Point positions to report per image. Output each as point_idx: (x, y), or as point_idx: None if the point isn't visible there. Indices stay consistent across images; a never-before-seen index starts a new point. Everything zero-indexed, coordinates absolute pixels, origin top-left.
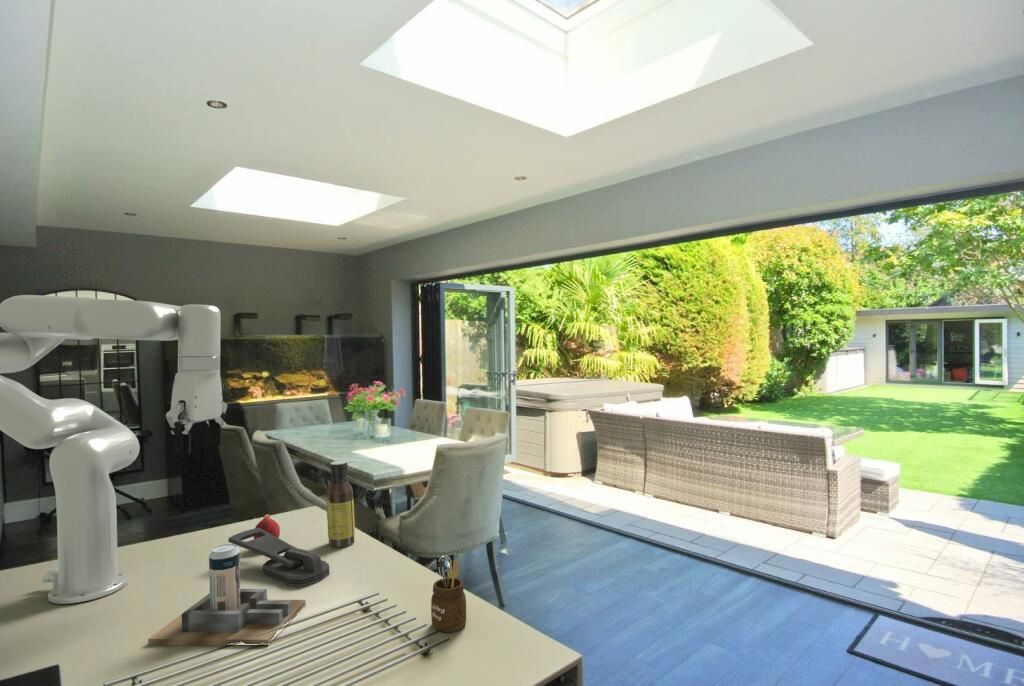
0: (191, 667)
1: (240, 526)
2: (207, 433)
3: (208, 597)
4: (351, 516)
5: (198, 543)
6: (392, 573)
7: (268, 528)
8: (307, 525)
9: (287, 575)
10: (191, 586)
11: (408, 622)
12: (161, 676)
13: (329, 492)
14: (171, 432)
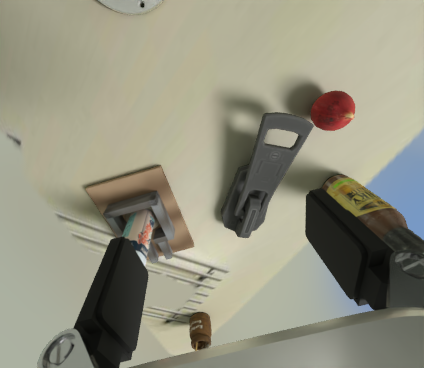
0: (89, 238)
1: None
2: (338, 232)
3: (137, 208)
4: None
5: None
6: (264, 263)
7: (326, 126)
8: (416, 94)
9: (223, 213)
10: (191, 112)
11: (194, 302)
12: (70, 231)
13: (370, 223)
14: (45, 347)
